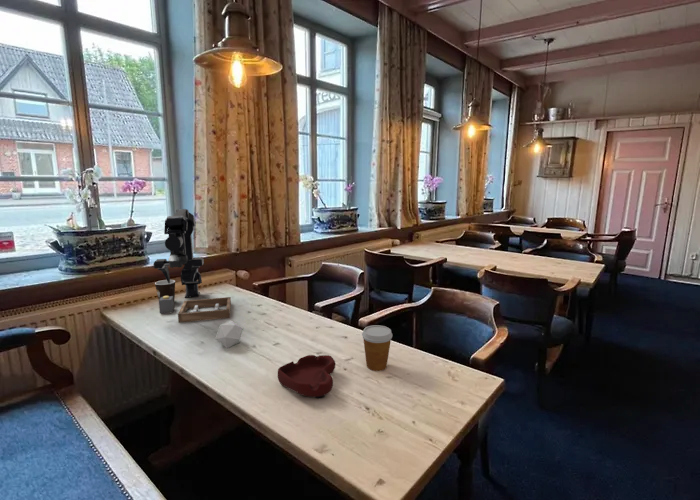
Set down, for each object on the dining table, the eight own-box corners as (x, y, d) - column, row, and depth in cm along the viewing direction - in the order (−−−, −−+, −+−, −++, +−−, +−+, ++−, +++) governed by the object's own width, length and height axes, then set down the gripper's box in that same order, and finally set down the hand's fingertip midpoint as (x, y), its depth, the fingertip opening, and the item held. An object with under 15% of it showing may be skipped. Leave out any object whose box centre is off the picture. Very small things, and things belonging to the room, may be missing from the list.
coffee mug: (157, 301, 182) (155, 281, 180) (176, 298, 185) (175, 279, 183) (156, 308, 171) (154, 287, 169) (177, 306, 175) (175, 285, 173)
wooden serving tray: (184, 308, 172) (184, 300, 171) (230, 304, 177) (230, 297, 177) (178, 322, 155) (177, 314, 154) (229, 317, 160) (229, 309, 160)
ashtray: (284, 368, 119) (283, 353, 118) (336, 369, 118) (336, 354, 117) (270, 401, 101) (270, 384, 100) (331, 402, 101) (331, 385, 100)
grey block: (162, 309, 170) (160, 295, 169) (174, 308, 171) (173, 294, 170) (159, 313, 165) (158, 298, 164) (172, 312, 167) (171, 297, 165)
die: (245, 348, 133) (249, 321, 138) (224, 344, 127) (228, 315, 131) (230, 351, 138) (234, 324, 142) (209, 347, 131) (213, 319, 136)
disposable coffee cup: (356, 362, 122) (356, 327, 120) (382, 357, 126) (383, 322, 123) (369, 376, 113) (370, 339, 111) (397, 370, 117) (398, 333, 115)
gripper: (148, 251, 148) (152, 289, 151) (198, 248, 152) (201, 286, 155) (155, 245, 159) (158, 281, 162) (202, 244, 163) (205, 279, 166)
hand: (181, 282), depth 161 cm, fingers open, 9 cm apart
